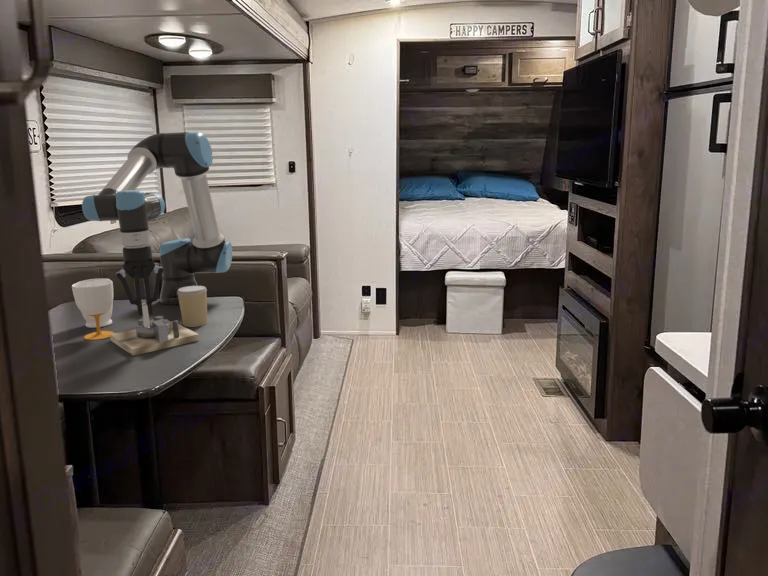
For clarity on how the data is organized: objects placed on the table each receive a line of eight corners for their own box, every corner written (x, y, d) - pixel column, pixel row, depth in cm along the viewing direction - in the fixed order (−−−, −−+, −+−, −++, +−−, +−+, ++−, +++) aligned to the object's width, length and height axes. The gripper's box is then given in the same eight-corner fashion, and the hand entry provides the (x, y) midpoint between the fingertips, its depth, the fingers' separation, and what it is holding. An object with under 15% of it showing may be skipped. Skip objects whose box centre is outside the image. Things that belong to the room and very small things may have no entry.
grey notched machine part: (132, 332, 200) (131, 317, 198) (165, 326, 205) (164, 311, 204) (146, 345, 187) (144, 328, 185) (181, 338, 192) (179, 322, 191)
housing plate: (173, 327, 212) (171, 306, 211) (200, 340, 197) (197, 318, 195) (109, 340, 200) (106, 319, 198) (131, 356, 184) (128, 332, 183)
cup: (90, 331, 211) (82, 279, 208) (125, 330, 211) (118, 278, 207) (72, 342, 200) (64, 288, 196) (109, 341, 200) (102, 287, 196)
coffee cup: (200, 318, 222) (197, 284, 220) (215, 323, 216) (211, 287, 213) (175, 324, 216) (171, 289, 213) (189, 329, 209) (185, 293, 207)
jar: (103, 329, 212) (97, 285, 209) (75, 328, 215) (68, 284, 211) (122, 320, 223) (116, 278, 219) (95, 320, 225) (89, 277, 221)
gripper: (112, 250, 177) (124, 333, 182) (162, 245, 182) (172, 325, 188) (110, 246, 183) (121, 326, 189) (158, 241, 189) (168, 319, 194)
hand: (146, 325), depth 188 cm, fingers closed
